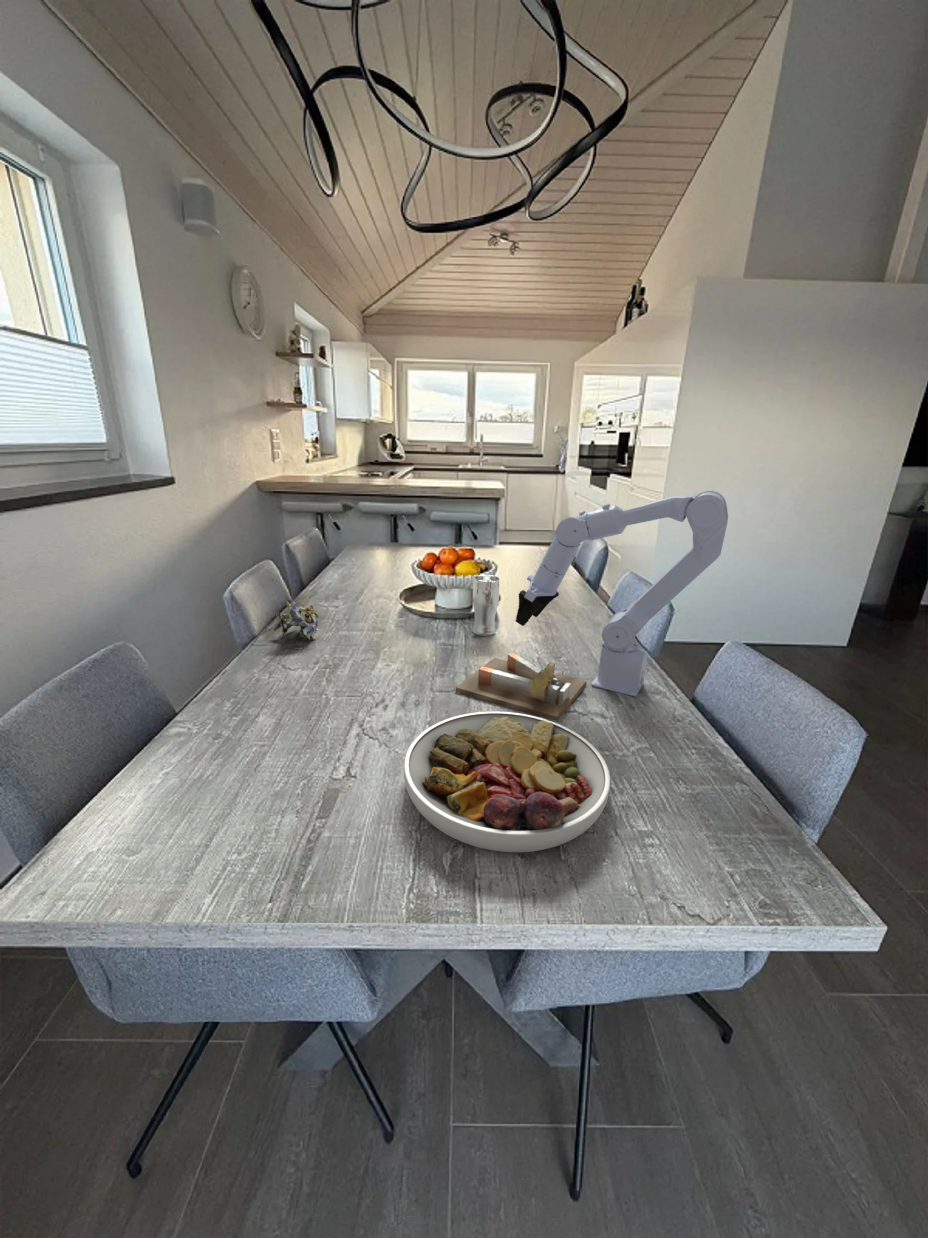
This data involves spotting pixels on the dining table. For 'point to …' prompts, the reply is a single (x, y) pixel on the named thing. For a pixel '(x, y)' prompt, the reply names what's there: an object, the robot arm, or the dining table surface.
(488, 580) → the beer glass
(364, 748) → the dining table surface
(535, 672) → the hinged tong arm
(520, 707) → the walnut board
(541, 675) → the brass ring
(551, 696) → the fixed tong arm
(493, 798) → the bowl
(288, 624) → the passion flower
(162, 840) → the dining table surface
